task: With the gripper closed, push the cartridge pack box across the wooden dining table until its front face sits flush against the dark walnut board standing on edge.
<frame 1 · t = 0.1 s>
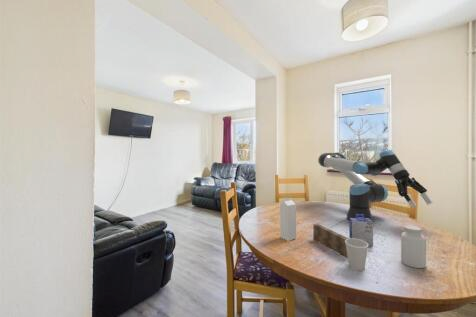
hand: (422, 205, 120), 15 cm above the table, tool tilted 35°, fingers open, 13 cm apart
dixie cup: (356, 267, 86), on the table
milk: (288, 238, 116), on the table
ink cartridge box: (360, 243, 108), on the table
walnut board: (330, 247, 104), on the table
pill bottle: (413, 264, 88), on the table
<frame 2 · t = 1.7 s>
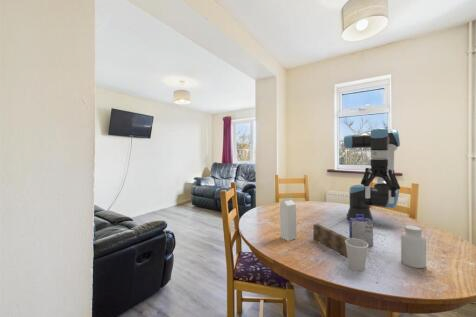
hand: (378, 200, 111), 20 cm above the table, tool pointing down, fingers open, 12 cm apart
nothing on the table moved.
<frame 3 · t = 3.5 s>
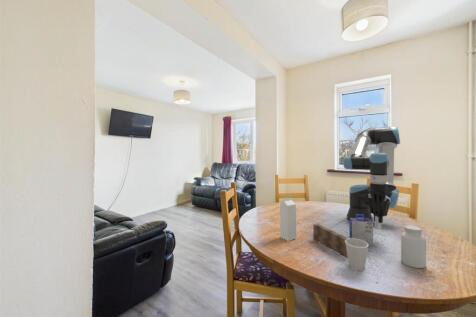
hand: (378, 228, 111), 6 cm above the table, tool pointing down, fingers closed
nothing on the table moved.
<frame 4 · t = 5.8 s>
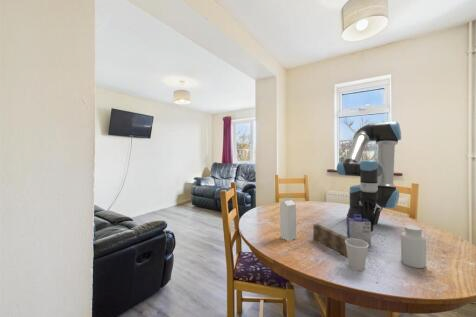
hand: (368, 236, 109), 3 cm above the table, tool pointing down, fingers closed
ink cartridge box: (358, 244, 107), on the table, touching gripper
everything else where it was.
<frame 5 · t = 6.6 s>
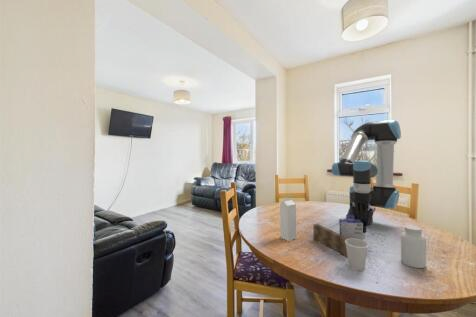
hand: (361, 238, 108), 3 cm above the table, tool pointing down, fingers closed
ink cartridge box: (350, 245, 106), on the table, touching gripper
everything else where it was.
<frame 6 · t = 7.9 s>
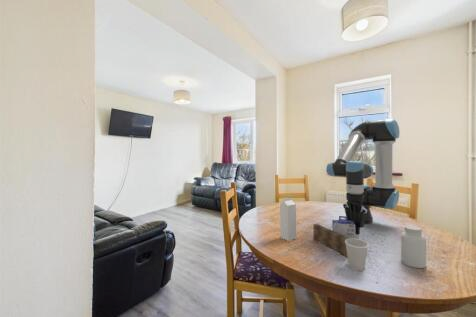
hand: (355, 239, 106), 2 cm above the table, tool pointing down, fingers closed
ink cartridge box: (343, 246, 105), on the table, touching gripper, walnut board
everything else where it was.
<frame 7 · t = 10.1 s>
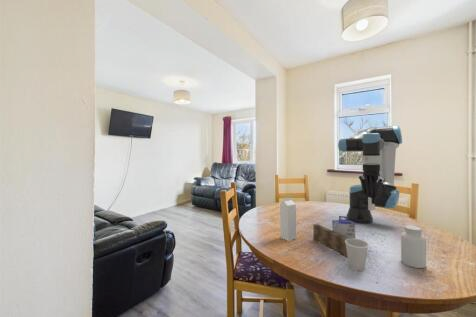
hand: (371, 209, 110), 16 cm above the table, tool pointing down, fingers closed
ink cartridge box: (343, 246, 105), on the table
everything else where it was.
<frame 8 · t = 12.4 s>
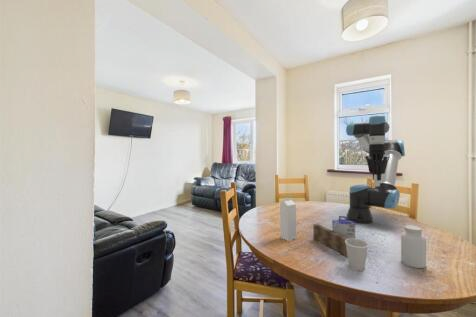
hand: (376, 186, 120), 26 cm above the table, tool pointing down, fingers closed
nothing on the table moved.
at the end: ink cartridge box inside the target area on the table beside the walnut board (0.9 cm from its centre), on the table; ink cartridge box tilted 0° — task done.
